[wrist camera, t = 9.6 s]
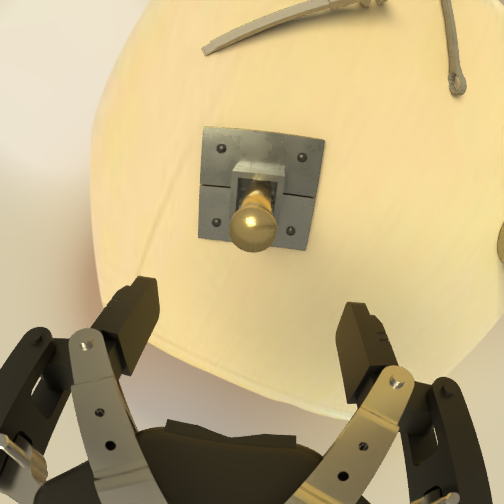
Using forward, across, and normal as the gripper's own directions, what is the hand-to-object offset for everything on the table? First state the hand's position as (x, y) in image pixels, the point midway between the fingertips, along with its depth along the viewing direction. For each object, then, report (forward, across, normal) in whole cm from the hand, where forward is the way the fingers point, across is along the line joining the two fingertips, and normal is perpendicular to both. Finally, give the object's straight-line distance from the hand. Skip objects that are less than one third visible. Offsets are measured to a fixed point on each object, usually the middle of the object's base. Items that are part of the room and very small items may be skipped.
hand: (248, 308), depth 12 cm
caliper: (+21, -1, -19) cm, 28 cm away
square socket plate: (+20, +1, 0) cm, 20 cm away
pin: (+19, 0, 0) cm, 19 cm away
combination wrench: (+21, -19, -25) cm, 38 cm away
